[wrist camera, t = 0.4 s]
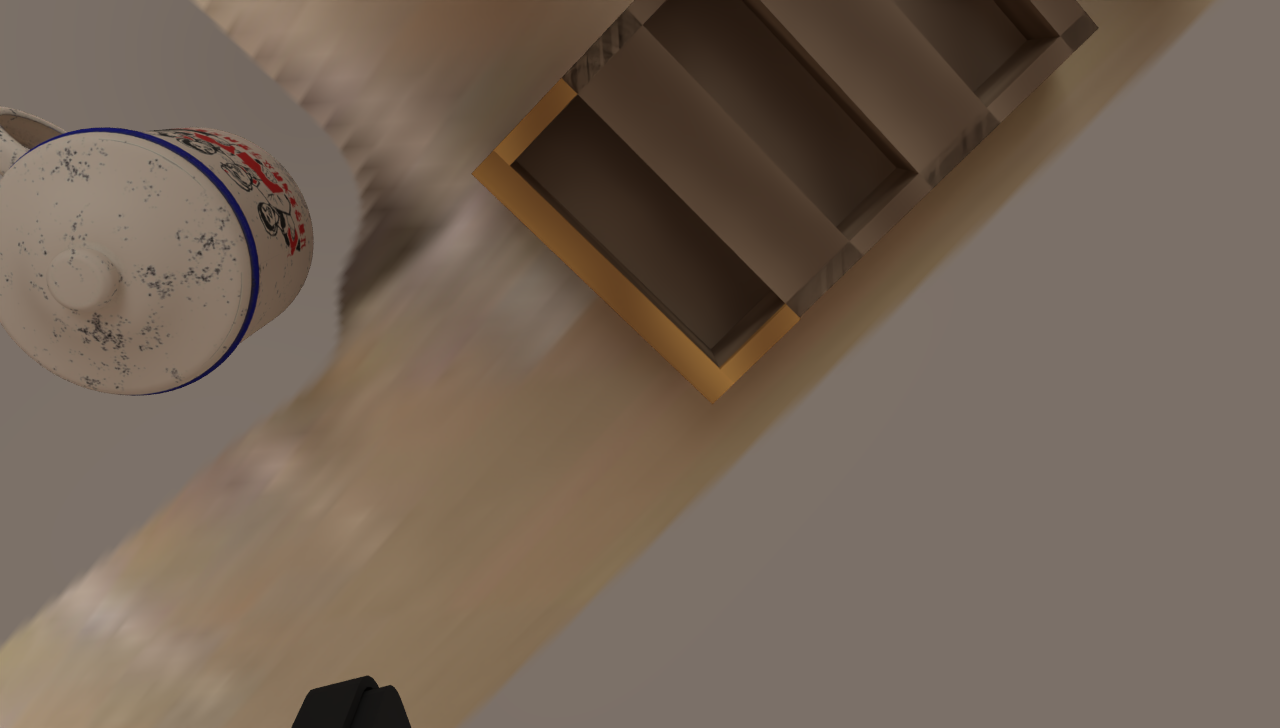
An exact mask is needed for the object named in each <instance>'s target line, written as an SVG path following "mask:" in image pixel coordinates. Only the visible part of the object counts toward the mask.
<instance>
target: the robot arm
mask: <svg viewBox="0 0 1280 728" xmlns="http://www.w3.org/2000/svg"><path fill="white" fill-rule="evenodd" d="M292 728H411V726H410V723H409V720H408V717H407V715H406V712H405V709H404V706H403V703H402V701H401V698H400V696H399V694H398V692H397V690H396V689H395V687H393V686H392V685H389V686H385V687H381V688H379V686H378V685H377V683H376V682H375V680H374V679H373V678H372V677H370V676H364V677H360V678H356V679H352V680H348V681H344V682H340V683H336V684H332V685H328V686H324V687H320V688H316V689H313V690H310V692H309V693H308V694H307V696H306V698H305V700H304V702H303V704H302V706H301V708H300V710H299V713H298V715H297V717H296V719H295V721H294V723H293V725H292Z"/></svg>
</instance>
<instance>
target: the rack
mask: <svg viewBox="0 0 1280 728" xmlns="http://www.w3.org/2000/svg"><path fill="white" fill-rule="evenodd" d="M1097 29H1098V26H1097V25H1096V24H1095V23H1094V22H1093V20H1092V19H1091V18H1090V17H1089V16H1088V14H1087V13H1086V12H1085V11H1084V10H1083V8H1082V7H1081V6H1080V5H1079V4H1078V2H1077V1H1076V0H634V1H633V3H632V4H631V5H630V6H629V7H628V8H627V9H626V10H625V11H624V12H623V13H622V14H621V15H620V16H619V17H618V19H617V20H616V21H615V22H614V23H613V24H612V25H611V26H610V27H609V28H608V29H607V30H606V31H605V32H604V33H603V34H602V36H601V37H600V38H599V39H598V40H597V41H596V42H595V43H594V44H593V45H592V46H591V47H590V48H589V49H588V50H587V52H586V53H585V54H584V55H583V56H582V57H581V58H580V59H579V60H578V61H577V62H576V63H575V64H574V65H573V66H572V68H571V69H570V70H569V71H568V72H567V73H566V74H565V75H564V76H563V77H562V78H561V79H560V80H559V81H558V82H557V83H556V84H555V85H554V86H553V87H552V88H551V90H550V91H549V92H548V93H547V94H546V95H545V96H544V97H543V98H542V99H541V100H540V101H539V102H538V103H537V104H536V106H535V107H534V108H533V109H532V110H531V111H530V112H529V113H528V114H527V115H526V116H525V117H524V118H523V119H522V120H521V121H520V123H519V124H518V125H517V126H516V127H515V128H514V129H513V130H512V131H511V132H510V133H509V134H508V135H507V136H506V137H505V139H504V140H503V141H502V142H501V143H500V144H499V145H498V146H497V147H496V148H495V149H494V150H493V151H492V152H491V153H490V155H489V156H488V157H487V158H486V159H485V160H484V161H483V162H482V163H481V164H480V165H479V166H478V167H477V168H476V169H475V171H474V172H473V173H472V175H473V176H474V177H475V178H476V179H477V180H478V181H479V182H480V183H481V184H482V185H484V186H485V187H486V188H487V189H488V190H489V191H490V192H491V193H492V194H493V195H494V196H495V197H496V198H497V199H498V200H499V201H500V202H501V203H502V204H503V205H504V206H506V207H507V208H508V209H509V210H510V211H511V212H512V213H513V214H514V215H515V216H516V217H517V218H518V219H519V220H520V221H521V222H522V223H523V224H524V225H525V226H526V227H527V228H529V229H530V230H531V231H532V232H533V233H534V234H535V235H536V236H537V237H538V238H539V239H540V240H541V241H542V242H543V243H544V244H545V245H546V246H547V247H548V248H549V249H551V250H552V251H553V252H554V253H555V254H556V255H557V256H558V257H559V258H560V259H561V260H562V261H563V262H564V263H565V264H566V265H567V266H568V267H569V268H570V269H571V270H572V271H574V272H575V273H576V274H577V275H578V276H579V277H580V278H581V279H582V280H583V281H584V282H585V283H586V284H587V285H588V286H589V287H590V288H591V289H592V290H593V291H594V292H595V293H597V294H598V295H599V296H600V297H601V298H602V299H603V300H604V301H605V302H606V303H607V304H608V305H609V306H610V307H611V308H612V309H613V310H614V311H615V312H616V313H617V314H619V315H620V316H621V317H622V318H623V319H624V320H625V321H626V322H627V323H628V324H629V325H630V326H631V327H632V328H633V329H634V330H635V331H636V332H637V333H638V334H639V335H640V336H642V337H643V338H644V339H645V340H646V341H647V342H648V343H649V344H650V345H651V346H652V347H653V348H654V349H655V350H656V351H657V352H658V353H659V354H660V355H661V356H662V357H664V358H665V359H666V360H667V361H668V362H669V363H670V364H671V365H672V366H673V367H674V368H675V369H676V370H677V371H678V372H679V373H680V374H681V375H682V376H683V377H684V378H685V379H687V380H688V381H689V382H690V383H691V384H692V385H693V386H694V387H695V388H696V389H697V390H698V391H699V392H700V393H701V394H702V395H703V396H704V397H705V398H706V399H707V400H708V401H710V402H711V403H712V404H713V403H714V402H715V401H716V400H717V399H719V398H720V397H721V396H722V395H723V394H724V393H725V392H726V391H727V390H728V389H729V388H730V387H731V386H732V385H733V384H734V383H735V382H736V381H737V380H738V379H739V378H740V377H741V376H742V375H743V374H744V373H745V372H746V371H748V370H749V369H750V368H751V367H752V366H753V365H754V364H755V363H756V362H757V361H758V360H759V359H760V358H761V357H762V356H763V355H764V354H765V353H766V352H767V351H768V350H769V349H770V348H771V347H772V346H773V345H774V344H775V343H777V342H778V341H779V340H780V339H781V338H782V337H783V336H784V335H785V334H786V333H787V332H788V331H789V330H790V329H791V328H792V327H793V326H794V325H795V324H796V323H797V322H798V321H799V320H800V318H799V317H800V316H801V315H802V314H803V313H804V312H805V311H806V310H807V309H809V308H810V307H811V306H812V305H813V304H814V303H815V302H816V301H817V300H818V299H819V298H820V297H821V296H822V295H823V294H824V293H825V292H826V291H827V290H828V289H829V288H830V287H831V286H832V285H833V284H834V283H835V282H836V281H837V280H839V279H840V278H841V277H842V276H843V275H844V274H845V273H846V272H847V271H848V270H849V269H850V268H851V267H852V266H853V265H854V264H855V263H856V262H857V261H858V260H859V259H860V258H861V257H862V256H863V255H864V254H865V253H866V252H867V251H869V250H870V249H871V248H872V247H873V246H874V245H875V244H876V243H877V242H878V241H879V240H880V239H881V238H882V237H883V236H884V235H885V234H886V233H887V232H888V231H889V230H890V229H891V228H892V227H893V226H894V225H895V224H896V223H898V222H899V221H900V220H901V219H902V218H903V217H904V216H905V215H906V214H907V213H908V212H909V211H910V210H911V209H912V208H913V207H914V206H915V205H916V204H917V203H918V202H919V201H920V200H921V199H922V198H923V197H924V196H925V195H926V194H928V193H929V192H930V191H931V190H932V189H933V188H934V187H935V186H936V185H937V184H938V183H939V182H940V181H941V180H942V179H943V178H944V177H945V176H946V175H947V174H948V173H949V172H950V171H951V170H952V169H953V168H954V167H955V166H956V165H958V164H959V163H960V162H961V161H962V160H963V159H964V158H965V157H966V156H967V155H968V154H969V153H970V152H971V151H972V150H973V149H974V148H975V147H976V146H977V145H978V144H979V143H980V142H981V141H982V140H983V139H984V138H985V137H986V136H988V135H989V134H990V133H991V132H992V131H993V130H994V129H995V128H996V127H997V126H998V125H999V124H1000V123H1001V122H1002V121H1003V120H1004V119H1005V118H1006V117H1007V116H1008V115H1009V114H1010V113H1011V112H1012V111H1013V110H1014V109H1015V108H1016V107H1018V106H1019V105H1020V104H1021V103H1022V102H1023V101H1024V100H1025V99H1026V98H1027V97H1028V96H1029V95H1030V94H1031V93H1032V92H1033V91H1034V90H1035V89H1036V88H1037V87H1038V86H1039V85H1040V84H1041V83H1042V82H1043V81H1044V80H1045V79H1046V78H1048V77H1049V76H1050V75H1051V74H1052V73H1053V72H1054V71H1055V70H1056V69H1057V68H1058V67H1059V66H1060V65H1061V64H1062V63H1063V62H1064V61H1065V60H1066V59H1067V58H1068V57H1069V56H1070V55H1071V54H1072V53H1073V52H1074V51H1075V50H1076V49H1078V48H1079V47H1080V46H1081V45H1082V44H1083V43H1084V42H1085V41H1086V40H1087V39H1088V38H1089V37H1090V36H1091V35H1092V34H1093V33H1094V32H1095V31H1096V30H1097Z"/></svg>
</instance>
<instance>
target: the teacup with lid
mask: <svg viewBox="0 0 1280 728" xmlns="http://www.w3.org/2000/svg"><path fill="white" fill-rule="evenodd" d="M23 146H24V147H23ZM25 147H26V148H28V149H30V150H27V149H26V148H25ZM0 174H1V175H2V176H3V177H2V178H1V179H0V323H1V324H2V326H3V327H4V329H5V330H6V331H7V333H8V334H9V335H10V337H11V338H12V339H13V340H14V341H15V342H16V344H17V345H18V346H19V347H20V348H21V349H22V350H23V351H24V352H25V353H27V354H28V355H29V356H30V357H31V358H32V359H34V360H35V361H36V362H37V363H39V364H40V365H41V366H43V367H44V368H46V369H47V370H49V371H50V372H52V373H54V374H56V375H57V376H59V377H61V378H63V379H65V380H67V381H69V382H71V383H74V384H76V385H79V386H82V387H85V388H88V389H91V390H95V391H99V392H104V393H111V394H119V395H151V394H160V393H164V392H169V391H173V390H176V389H179V388H182V387H184V386H187V385H189V384H191V383H194V382H196V381H197V380H199V379H201V378H202V377H204V376H206V375H208V374H209V373H210V372H212V371H213V370H215V369H216V368H217V367H218V366H219V365H221V363H223V362H224V361H225V360H226V359H227V358H228V357H229V356H230V355H231V353H232V352H233V351H234V350H235V349H236V347H237V345H238V344H239V343H241V342H242V341H243V340H245V339H246V338H248V337H249V336H250V335H252V334H253V333H255V332H256V331H258V330H259V329H260V328H262V327H263V326H265V325H266V324H267V323H269V322H270V321H271V320H273V319H274V318H276V317H277V316H278V315H280V314H281V313H282V312H283V311H284V310H285V309H286V308H287V307H288V306H289V305H290V304H291V303H292V302H293V300H294V299H295V297H296V296H297V295H298V293H299V292H300V290H301V288H302V286H303V284H304V282H305V280H306V278H307V275H308V272H309V269H310V266H311V261H312V255H313V229H312V223H311V218H310V214H309V211H308V207H307V205H306V202H305V200H304V198H303V195H302V193H301V191H300V190H299V188H298V186H297V185H296V183H295V181H294V180H293V178H292V177H291V176H290V174H289V173H288V172H287V171H286V169H284V167H283V166H282V165H281V164H280V163H279V162H278V161H277V160H276V159H275V158H274V157H272V156H271V155H270V154H269V153H267V152H266V151H265V150H263V149H262V148H261V147H259V146H257V145H256V144H254V143H252V142H251V141H248V140H246V139H244V138H242V137H240V136H237V135H235V134H232V133H228V132H225V131H221V130H216V129H210V128H199V127H197V128H178V129H166V130H154V131H142V132H138V131H133V130H128V129H121V128H89V129H80V130H76V131H72V132H66V131H65V130H63V129H61V128H60V127H57V126H56V125H54V124H52V123H50V122H48V121H46V120H44V119H41V118H39V117H37V116H34V115H31V114H29V113H26V112H22V111H20V110H16V109H12V108H7V107H2V106H0Z"/></svg>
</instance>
